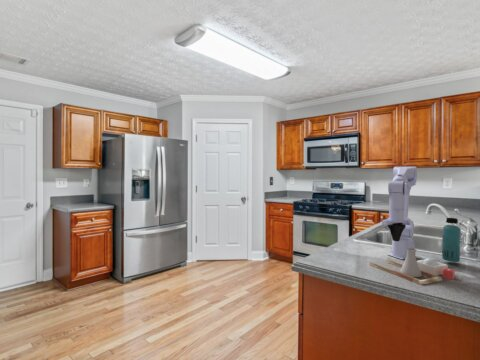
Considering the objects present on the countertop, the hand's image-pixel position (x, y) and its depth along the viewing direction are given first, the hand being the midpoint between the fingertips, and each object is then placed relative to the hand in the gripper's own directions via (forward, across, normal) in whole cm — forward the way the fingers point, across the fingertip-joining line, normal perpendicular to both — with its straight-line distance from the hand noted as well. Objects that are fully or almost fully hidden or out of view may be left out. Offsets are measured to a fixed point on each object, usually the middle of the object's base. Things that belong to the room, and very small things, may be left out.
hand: (395, 240), depth 122 cm
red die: (+10, -6, +18) cm, 22 cm away
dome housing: (+10, -6, +11) cm, 16 cm away
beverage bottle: (+10, -25, +8) cm, 28 cm away
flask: (+11, +5, +10) cm, 16 cm away
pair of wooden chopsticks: (+10, +5, +7) cm, 13 cm away
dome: (+10, -6, +11) cm, 16 cm away
